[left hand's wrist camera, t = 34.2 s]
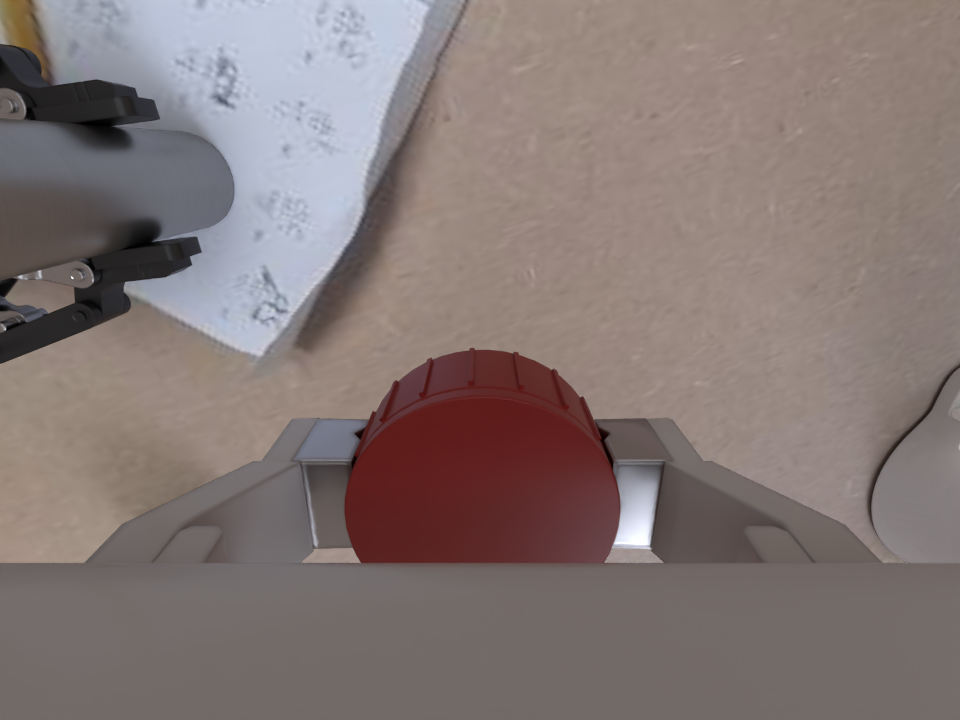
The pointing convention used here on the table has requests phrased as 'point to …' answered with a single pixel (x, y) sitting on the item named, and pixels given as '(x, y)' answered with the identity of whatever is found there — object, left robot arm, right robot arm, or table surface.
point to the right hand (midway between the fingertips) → (167, 180)
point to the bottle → (101, 190)
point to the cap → (482, 468)
